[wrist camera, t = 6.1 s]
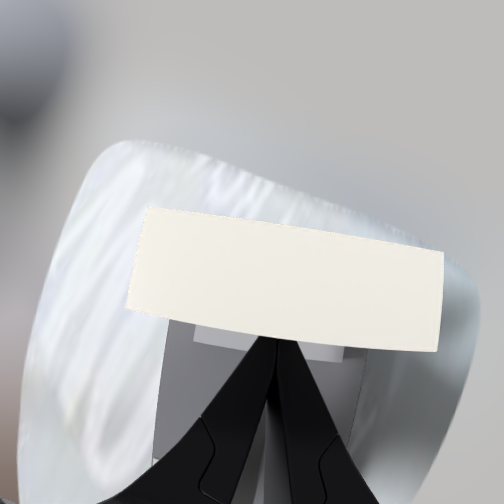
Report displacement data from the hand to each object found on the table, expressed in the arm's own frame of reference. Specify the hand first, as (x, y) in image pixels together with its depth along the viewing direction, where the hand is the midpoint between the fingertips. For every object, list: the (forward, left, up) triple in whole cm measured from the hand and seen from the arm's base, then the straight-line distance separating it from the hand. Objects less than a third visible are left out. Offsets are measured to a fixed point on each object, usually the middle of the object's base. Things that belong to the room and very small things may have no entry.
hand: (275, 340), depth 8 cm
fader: (+1, -1, -4) cm, 5 cm away
